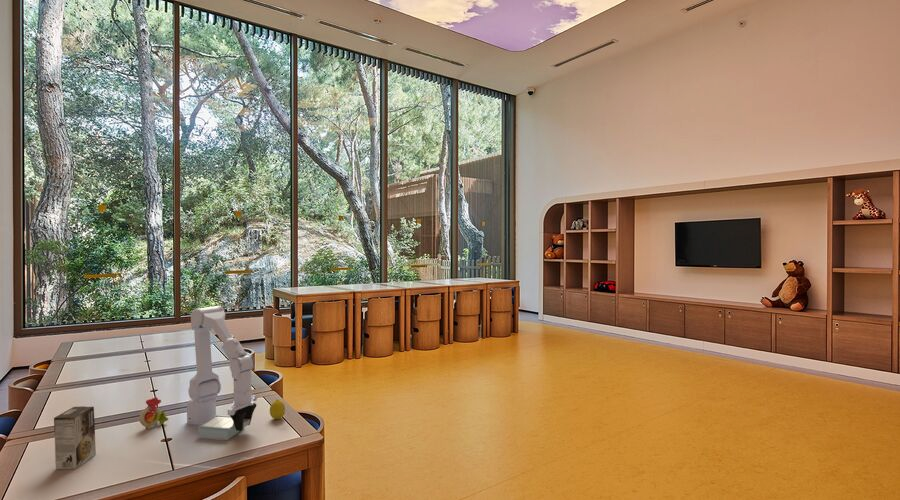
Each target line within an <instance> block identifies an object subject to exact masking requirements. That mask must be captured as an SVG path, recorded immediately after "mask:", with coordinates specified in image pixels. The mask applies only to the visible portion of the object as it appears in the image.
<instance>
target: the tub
mask: <svg viewBox="0 0 900 500" xmlns="http://www.w3.org/2000/svg"><path fill="white" fill-rule="evenodd" d="M216 417H230V415H221V414H216ZM230 418H231V417H230ZM197 428H198V429H197V430H198V431H197V434H198V435H197V436H198V439H208V440H209V439H210V440H219V441H228V440H230V439H231V438H233V437H234V436H236V435H237V434H238V433H240V432H241V431H236V428H231V429H230V430H228V428H223V427H211V426H203V425H197ZM244 429H245V427H244V428H243V430H244Z"/></svg>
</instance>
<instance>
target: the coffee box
mask: <svg viewBox="0 0 900 500" xmlns="http://www.w3.org/2000/svg"><path fill="white" fill-rule="evenodd" d="M53 423H54V424H53V425H54V426H53V428H54V429H53V430H54V431H53V432H54V453H55V454H54V455H55V456H54V458H55V459H54V462H55V470H76V469H77V470H78V469H79V468H80V467H81V466H83V465H84V464H85V463H86V462H87V461H89V460H90V459H92V458H93V457H94V456H96V455H97V451H96V429H95V428H96V426H95V407H94V406H72V407H71V408H69V409H68V410H66V411H64V412H61V413H60V414H59V415H57V416H55V417H53Z"/></svg>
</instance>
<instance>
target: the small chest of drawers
mask: <svg viewBox="0 0 900 500" xmlns="http://www.w3.org/2000/svg"><path fill="white" fill-rule="evenodd" d="M249 424H250V425H251V423H250V419H244V422H243V428H244V429H245V427H247V426H250V425H249ZM202 426H211V427H223V428H228V430H230V429H231V428H235V425H234V422H233V420H232V418H230V417H216V418H214V419H212V420H211V421H209V422H207V423H206V424H204V425H202Z"/></svg>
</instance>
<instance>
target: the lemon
mask: <svg viewBox="0 0 900 500" xmlns="http://www.w3.org/2000/svg"><path fill="white" fill-rule="evenodd" d="M285 412H286V405H285V403H284V402H283V401H282V400H280V399H276V400H274V401H272V402H271V404H270V406H269V415H270V417H271V418H272V419H274V420H279V419H282V418H283V416H285Z"/></svg>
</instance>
